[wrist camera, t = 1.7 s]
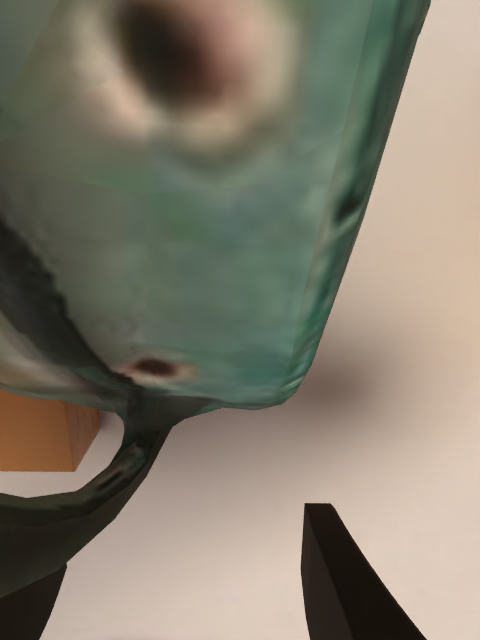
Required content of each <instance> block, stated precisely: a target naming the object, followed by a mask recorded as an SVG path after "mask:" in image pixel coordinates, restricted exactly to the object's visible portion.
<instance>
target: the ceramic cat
mask: <svg viewBox="0 0 480 640" xmlns="http://www.w3.org/2000/svg"><path fill="white" fill-rule="evenodd" d="M430 3H431V0H0V389H2V390H4V391H7V392H9V393H12V394H17V395H22V396H26V397H31V398H36V399H40V400H62V401H66V402H71V403H75V404H79V405H84V406H88V407H93V408H97V409H101V410H106V411H110V412H115V413H116V414H117V415H118V416H119V417H120V418H121V419H122V420H123V423H124V428H125V431H124V436H123V440H122V445H121V447H120V449H119V450H118V452H117V453H116V455H115V457H114V458H113V460H112V462H111V463H110V465H109V466H108V467H107V468H106V469H105V470H103V471H102V472H101V473H100V474H98V475H97V476H96V477H95V478H93V479H92V480H91V481H90V482H89V483H87V484H86V485H85V486H84V487H82V488H81V489H79V490H77V491H75V492H67V493H60V494H53V495H46V496H39V497H32V498H24V497H19V496H14V495H9V494H4V493H0V598H2V597H4V596H6V595H8V594H10V593H12V592H14V591H16V590H18V589H20V588H22V587H25V586H27V585H29V584H31V583H33V582H35V581H37V580H39V579H41V578H43V577H45V576H47V575H49V574H51V573H53V572H56V571H58V570H59V569H60V568H61V567H62V566H63V565H64V564H65V563H67V562H68V561H69V560H70V559H71V558H72V557H73V556H74V555H75V554H76V553H78V552H79V551H80V550H81V549H82V548H83V547H84V546H85V545H86V544H88V543H89V542H90V541H91V540H92V539H93V538H94V537H95V536H96V535H97V534H99V533H100V532H101V531H102V530H103V529H104V528H105V527H106V526H107V525H108V524H110V523H111V522H112V521H113V520H114V519H115V518H116V516H117V515H118V514H119V512H120V511H121V510H122V508H123V507H124V506H125V504H126V503H127V502H128V500H129V499H130V498H131V496H132V495H133V494H134V492H135V491H136V490H137V488H138V487H139V486H140V484H141V483H142V482H143V480H144V479H145V478H146V476H147V474H148V472H149V471H150V469H151V467H152V465H153V463H154V461H155V459H156V457H157V455H158V453H159V451H160V449H161V447H162V445H163V444H164V442H165V440H166V438H167V436H168V434H169V432H170V430H171V428H172V427H173V426H174V425H176V424H178V423H179V422H181V421H183V420H184V419H187V418H190V417H193V416H197V415H200V414H203V413H206V412H210V411H213V410H216V409H220V408H237V409H248V410H259V409H264V408H268V407H272V406H276V405H280V404H283V403H284V402H285V401H286V400H287V399H288V398H289V397H291V396H292V395H293V394H294V393H295V392H296V391H297V389H298V387H299V386H300V384H301V382H302V380H303V379H304V377H305V375H306V373H307V372H308V370H309V368H310V367H311V365H312V362H313V359H314V356H315V353H316V351H317V348H318V345H319V342H320V339H321V337H322V334H323V331H324V328H325V325H326V323H327V320H328V317H329V314H330V311H331V308H332V306H333V303H334V300H335V297H336V294H337V292H338V289H339V286H340V283H341V280H342V277H343V275H344V272H345V269H346V266H347V263H348V261H349V258H350V255H351V252H352V249H353V247H354V244H355V241H356V238H357V235H358V232H359V230H360V227H361V224H362V221H363V218H364V215H365V211H366V208H367V205H368V201H369V198H370V195H371V191H372V188H373V185H374V182H375V178H376V175H377V172H378V168H379V165H380V162H381V158H382V155H383V152H384V148H385V145H386V142H387V138H388V135H389V132H390V128H391V125H392V122H393V118H394V115H395V112H396V108H397V105H398V102H399V98H400V95H401V92H402V88H403V85H404V82H405V78H406V75H407V72H408V69H409V65H410V62H411V59H412V55H413V52H414V49H415V45H416V42H417V39H418V36H419V34H420V32H421V29H422V26H423V24H424V21H425V18H426V15H427V12H428V10H429V7H430Z"/></svg>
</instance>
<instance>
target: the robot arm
mask: <svg viewBox="0 0 480 640" xmlns="http://www.w3.org/2000/svg"><path fill="white" fill-rule="evenodd" d="M66 569H67V563H65V564H64V565H63V566H62V567H61V568H60V569H59V570H58V571H56V572H53V573H51V574H49V575H47V576H45V577H43V578H41V579H39V580H37V581H35V582H33V583H31V584H29V585H27V586H25V587H22V588H20V589H18V590H16V591H14V592H12V593H10V594H8V595H6V596H4V597H2V598H0V640H39V639H40V637H41V635H42V633H43V630H44V628H45V626H46V624H47V622H48V619H49V617H50V615H51V612H52V609H53V607H54V604H55V601H56V598H57V596H58V593H59V590H60V587H61V584H62V581H63V578H64V575H65V572H66ZM301 577H302V587H303V596H304V605H305V614H306V620H307V626H308V631H309V636H310V640H427V639H426V638H425V637H424V636H423V634H422V633H421V632H420V631H419V630H418V628H417V627H416V626H415V625H414V623H413V622H412V621H411V619H410V618H409V617H408V616H407V614H406V613H405V612H404V610H403V609H402V608H401V607H400V605H399V604H398V603H397V601H396V600H395V599H394V597H393V596H392V595H391V593H390V592H389V591H388V589H387V588H386V586H385V585H384V584H383V582H382V581H381V579H380V578H379V577H378V575H377V574H376V572H375V571H374V569H373V568H372V567H371V565H370V564H369V562H368V561H367V559H366V558H365V556H364V555H363V553H362V552H361V550H360V549H359V547H358V546H357V544H356V543H355V541H354V540H353V538H352V536H351V535H350V533H349V532H348V530H347V528H346V527H345V525H344V523H343V522H342V520H341V518H340V517H339V515H338V513H337V511H336V510H335V508H334V507H333V506H332V505H331V504H330V503H305V507H304V523H303V539H302V555H301Z"/></svg>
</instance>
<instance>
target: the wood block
mask: <svg viewBox="0 0 480 640" xmlns="http://www.w3.org/2000/svg"><path fill="white" fill-rule="evenodd" d="M99 430H100V424H99V416H98V409H97V408H93V407H88V406H84V405H79V404H75V403H71V402H66V401H62V400H40V399H36V398H31V397H26V396H22V395H17V394H12V393H9V392H7V391H4V390H2V389H0V471H35V472H74V471H75V470H76V469H77V467H78V465H79V464H80V462H81V460H82V459H83V457H84V455H85V454H86V452H87V450H88V448H89V447H90V445H91V443H92V442H93V440H94V438H95V437H96V435H97V433H98V432H99Z"/></svg>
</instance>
